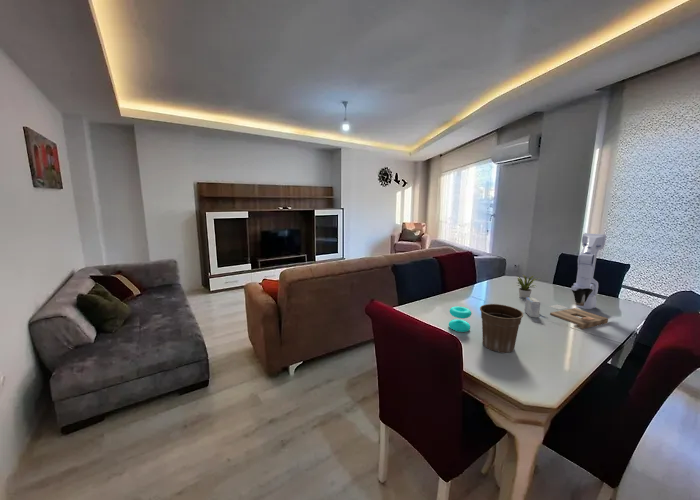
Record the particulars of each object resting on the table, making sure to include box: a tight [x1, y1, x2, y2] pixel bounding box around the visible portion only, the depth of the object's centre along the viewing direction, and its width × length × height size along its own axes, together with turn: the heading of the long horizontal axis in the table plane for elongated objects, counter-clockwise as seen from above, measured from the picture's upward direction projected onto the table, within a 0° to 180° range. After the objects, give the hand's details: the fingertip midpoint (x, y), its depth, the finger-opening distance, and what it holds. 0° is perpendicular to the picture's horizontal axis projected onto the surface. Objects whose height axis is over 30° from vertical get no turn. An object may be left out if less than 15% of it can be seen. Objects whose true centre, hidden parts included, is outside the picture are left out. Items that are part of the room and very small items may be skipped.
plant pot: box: [479, 303, 524, 354], centre depth 122 cm, size 16×16×16 cm
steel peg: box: [575, 294, 585, 306], centre depth 150 cm, size 4×4×6 cm
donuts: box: [448, 305, 472, 333], centre depth 140 cm, size 10×10×10 cm
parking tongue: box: [549, 304, 569, 311], centre depth 166 cm, size 8×6×2 cm
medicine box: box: [524, 297, 541, 318], centre depth 158 cm, size 8×4×9 cm, turn 168°
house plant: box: [516, 274, 541, 299], centre depth 183 cm, size 14×14×16 cm
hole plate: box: [549, 307, 609, 330], centre depth 151 cm, size 20×16×3 cm
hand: (580, 302), depth 150 cm, fingers closed on steel peg, 3 cm apart
